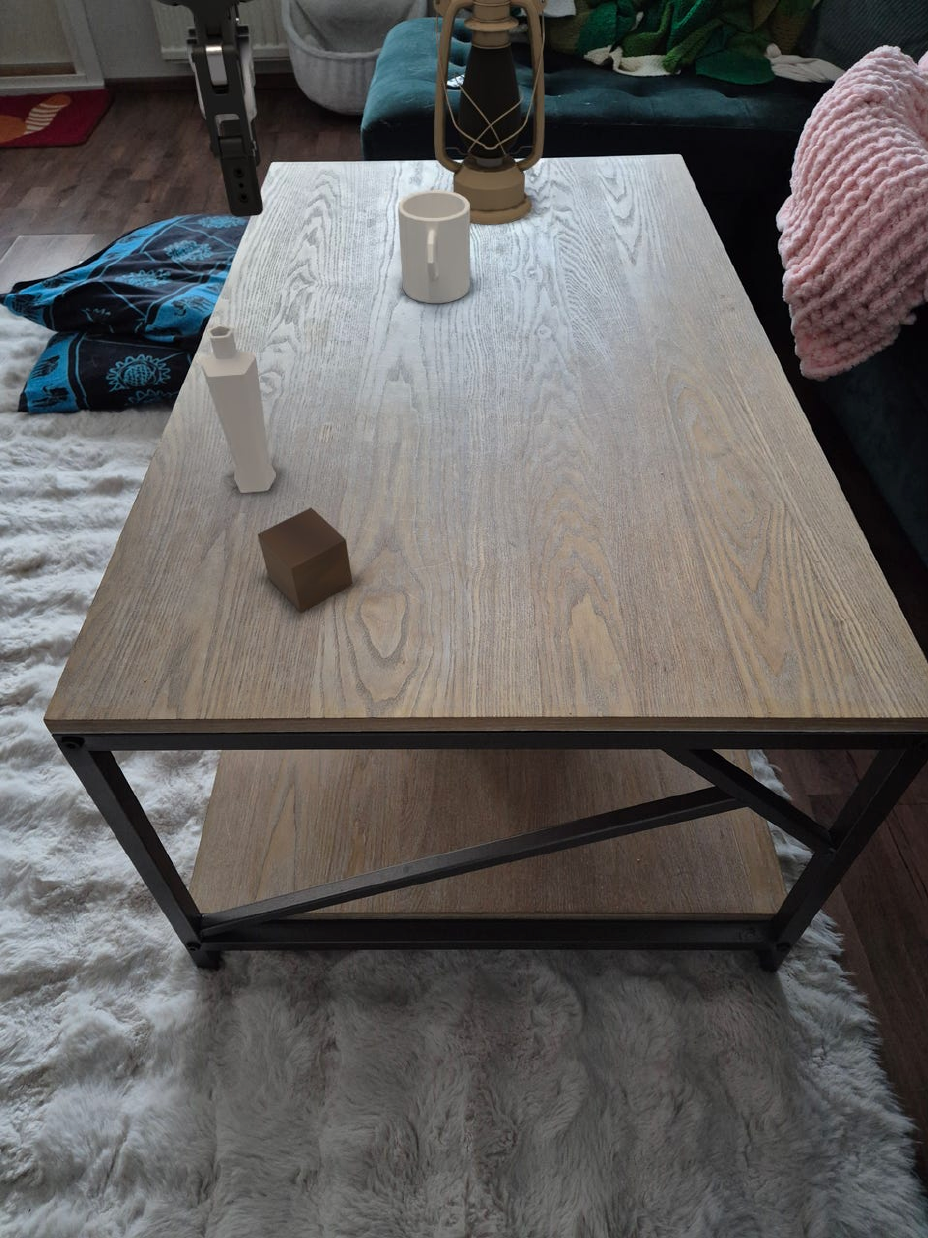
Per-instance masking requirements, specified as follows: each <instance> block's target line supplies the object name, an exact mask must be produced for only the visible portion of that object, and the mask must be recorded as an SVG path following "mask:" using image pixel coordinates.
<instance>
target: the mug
mask: <svg viewBox="0 0 928 1238" xmlns="http://www.w3.org/2000/svg"><path fill="white" fill-rule="evenodd" d="M397 216H398V229H399V231H398V232H399V245H400V262H401V264H400V265H401V280H402V289H403V292H404V294H406V295H407V296H408V297H409V298H410V299H412V300H415V301H418V302H420V303H426V304H444V303H451V302H454V301H457V300H460V299H461V298H463V297H464V296H466V295H467V294H468V292H469V291H470V287H471V223H470V203H469V202H468V200H467V199H466V198H465V197H463V196H461V195H460V194H457V193H454V192H453V191H449V190H443V189H428V190H420V191H416V192H413V193H410V194H408V195H407V196H404V197H403V198H402V199H401V200H400V201H399V202H398V206H397Z"/></svg>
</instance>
